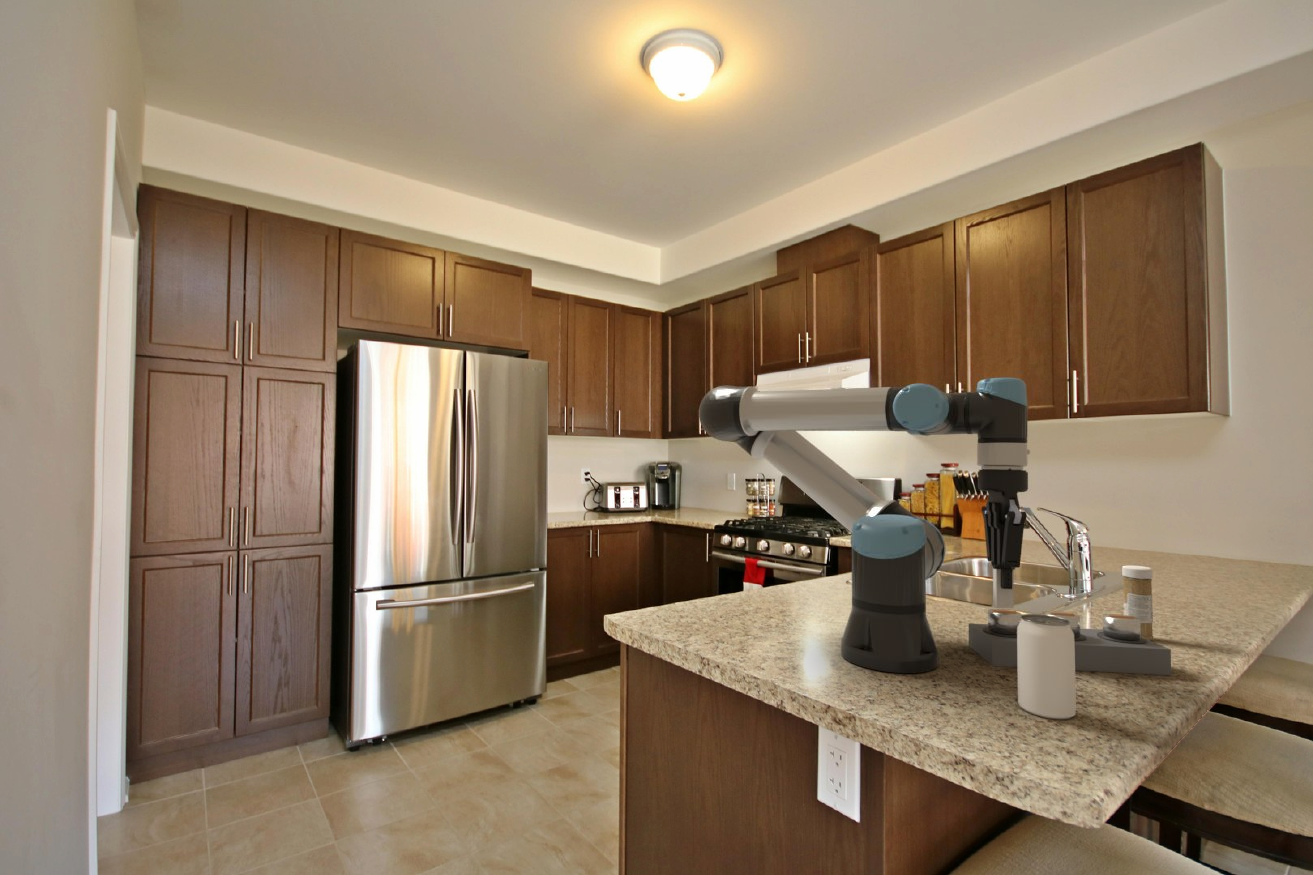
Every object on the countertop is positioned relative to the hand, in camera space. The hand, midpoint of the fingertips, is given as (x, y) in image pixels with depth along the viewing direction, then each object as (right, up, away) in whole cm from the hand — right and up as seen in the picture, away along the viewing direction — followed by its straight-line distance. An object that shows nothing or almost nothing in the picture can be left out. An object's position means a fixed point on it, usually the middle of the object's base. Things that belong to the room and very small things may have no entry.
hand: (1003, 606), depth 105 cm
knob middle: (+9, -4, -2) cm, 10 cm away
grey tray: (+9, -8, -2) cm, 12 cm away
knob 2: (+18, -4, -3) cm, 19 cm away
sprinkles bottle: (+32, -9, +12) cm, 36 cm away
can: (-8, -8, -24) cm, 26 cm away
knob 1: (0, -4, 0) cm, 4 cm away
